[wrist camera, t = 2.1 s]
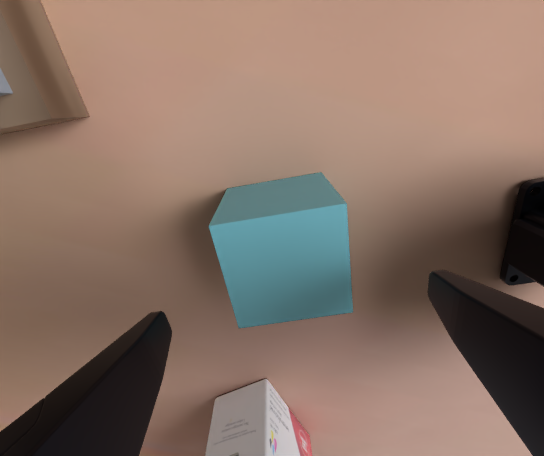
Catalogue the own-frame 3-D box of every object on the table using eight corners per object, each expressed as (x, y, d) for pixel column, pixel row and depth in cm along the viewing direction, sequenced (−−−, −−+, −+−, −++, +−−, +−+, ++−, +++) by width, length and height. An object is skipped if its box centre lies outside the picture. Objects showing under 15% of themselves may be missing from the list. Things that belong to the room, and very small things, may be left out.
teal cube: (320, 171, 14) (346, 203, 9) (328, 253, 16) (353, 312, 11) (227, 188, 14) (208, 226, 10) (247, 266, 16) (238, 328, 12)
